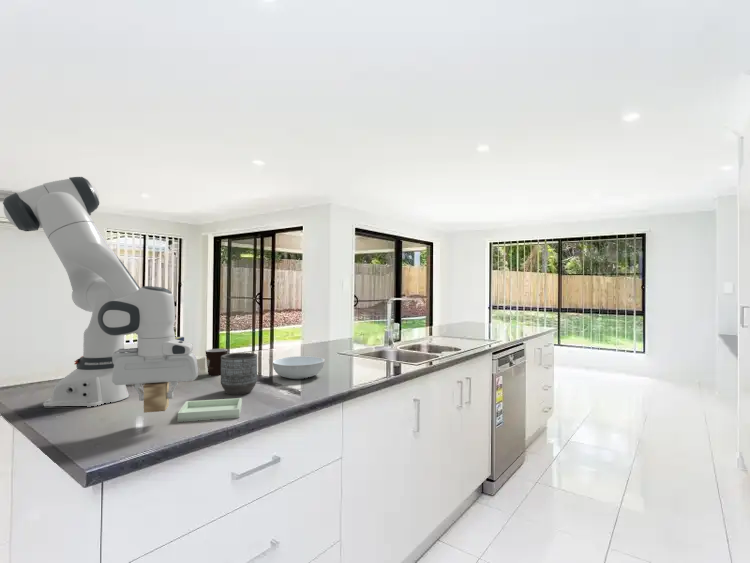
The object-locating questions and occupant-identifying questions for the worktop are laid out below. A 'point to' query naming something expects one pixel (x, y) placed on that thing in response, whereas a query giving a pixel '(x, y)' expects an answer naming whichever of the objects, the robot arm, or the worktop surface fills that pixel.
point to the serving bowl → (298, 366)
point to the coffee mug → (214, 361)
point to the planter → (238, 373)
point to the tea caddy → (155, 397)
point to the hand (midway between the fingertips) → (156, 399)
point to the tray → (210, 409)
